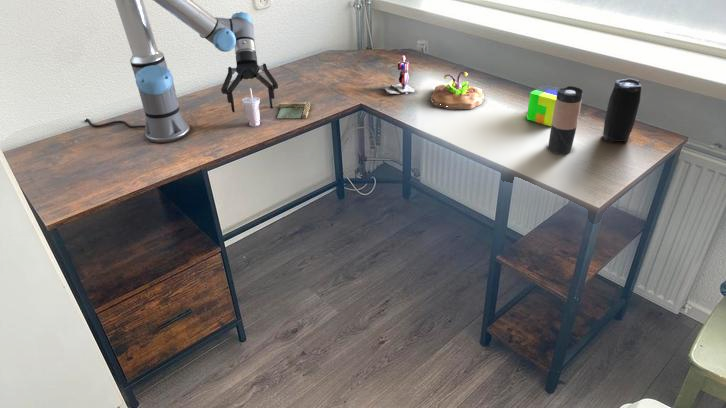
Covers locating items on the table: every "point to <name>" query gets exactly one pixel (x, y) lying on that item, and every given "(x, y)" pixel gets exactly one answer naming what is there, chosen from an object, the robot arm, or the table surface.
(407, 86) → the statue
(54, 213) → the table surface
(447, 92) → the plant
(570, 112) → the travel mug
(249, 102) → the smoothie
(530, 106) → the puzzle toy
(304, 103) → the corner guide
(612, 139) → the portable speaker
